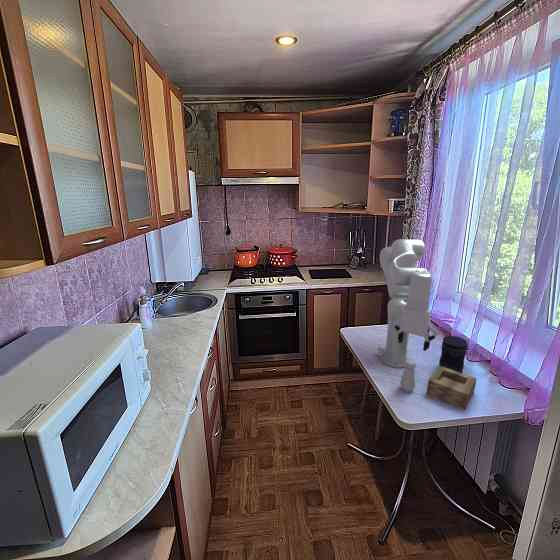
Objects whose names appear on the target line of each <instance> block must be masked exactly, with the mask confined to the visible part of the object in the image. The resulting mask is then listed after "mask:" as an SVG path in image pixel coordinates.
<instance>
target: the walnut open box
mask: <svg viewBox="0 0 560 560" xmlns="http://www.w3.org/2000/svg"><path fill="white" fill-rule="evenodd" d="M477 379H478V378H477V377H474V376H472V375H468V374H466V373H460V372H457V371H454V370H451V369H448V368H445V367H442V366H439V365H438V367H437V369H436V370H435V371H434V372H433V374H432V375H431V376H430V377H429V378H428V382H427V386H426V393H425V394H426V395H427V396H429V397H430V398H431V397H432V398H434V399H437V400H439V401H442V402H444V403H447V404H450V405H452V406H453V407H457V408H459V409H461V410H464V411H466V409H467V407H468V405H469V403H470V401H471V399H472V397H473V395H474V392H475V389H476V384H477Z"/></svg>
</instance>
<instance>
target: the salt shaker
mask: <svg viewBox="0 0 560 560" xmlns="http://www.w3.org/2000/svg"><path fill="white" fill-rule="evenodd" d="M404 366H405V367H404V370H403V373H402V376H401V379H400V382H399V385H400V388H401V390H402V391H403V392H406V393H411V392H412V391H413V390H414V389H415V387H416V379H415V368H416V366H417V364H416V362H415V361H414V360H413V359H409V360H406V361H405V362H404Z"/></svg>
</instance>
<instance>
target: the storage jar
mask: <svg viewBox="0 0 560 560" xmlns="http://www.w3.org/2000/svg"><path fill="white" fill-rule="evenodd" d="M468 344H469V343H468V340H466V339H464V338H463V337H459V336H456V335H446V336H443V338H442V342H441V354H440V357H439V362H438V367H439V366H442V367H445V368H448V369H451V370H454V371H457V372H460V373H463V371H464V367H465V358H466V355H467V350H468ZM463 374H464V373H463Z"/></svg>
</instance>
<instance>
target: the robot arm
mask: <svg viewBox="0 0 560 560" xmlns="http://www.w3.org/2000/svg"><path fill="white" fill-rule="evenodd" d="M425 254H426V245H425V243H424V241H423V240H421V239H417V238H416V239H413V238H411V239H410V238H408V239H407V238H401V239H396V240H394V241H393V242H392V244H391V246H386V247H384V248H382V249H381V251H380V253H379V263H380V266H381V268H382V271H383V273H384V274H385V278H386V285H387V291H388V296H389V297H390V298H391V299H390V300H389V301H388V303H387V317H388V318H387V333H386V341H385V348H384V347H381V346H378V347H377V353H379V354H382V355H381V356H380V358H381V360H380V361H382V363H384V364H385V365H386V366H389V367H392V368H398V369H401V368H405V366H404V362H405V361H406V360H410V359H409V358H408V357H407V353H408V344H409V337H410V334H411V335H415V336H418V337H423V338H424V342H423V349H422V351H424V352H427V350H429V349H430V346H431V345H430V344H431V341H432V340H435V339H436V338H437V336H438V335H439V334H440V331H438V330H437V329H436V328H435V327H433V326H432V325H431V311H430V299H431V298H430V297H431V291H432V290H431V289H432V282H433V276H432V275H431V273H430V272H429V270H428V269H427V268H425V267H414V265H416V264H417V262H418V261H420V260H421V259H423V257H424V256H425ZM430 332H431V333H432V335H430Z"/></svg>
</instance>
